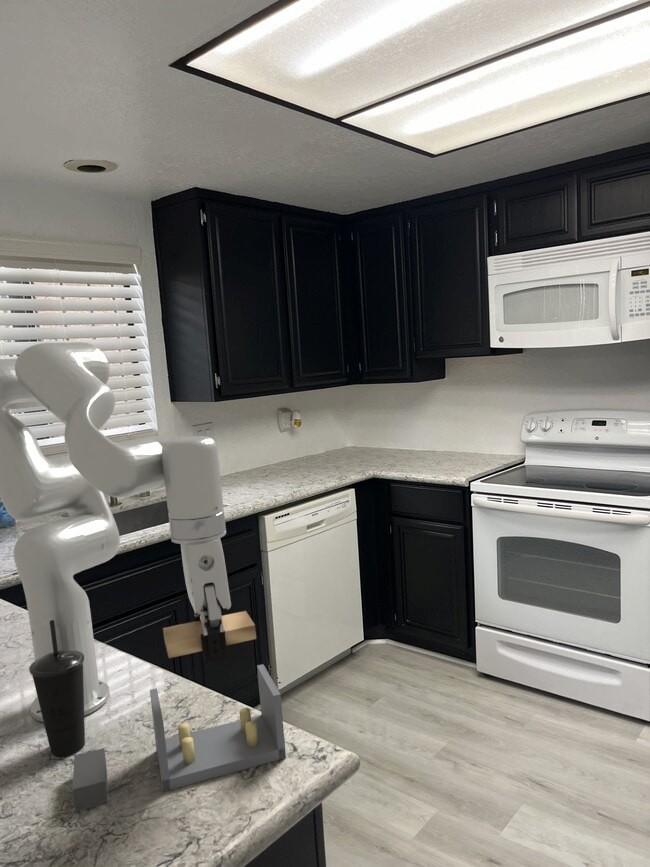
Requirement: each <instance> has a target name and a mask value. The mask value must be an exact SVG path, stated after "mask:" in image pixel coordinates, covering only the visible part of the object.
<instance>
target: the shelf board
mask: <svg viewBox="0 0 650 867" xmlns="http://www.w3.org/2000/svg"><path fill="white" fill-rule="evenodd" d="M205 620H206V622H207V620H208V619H205ZM222 621H223V628H224V630H225V638H226V646H230V645H234V644H239V643H244V642H247V641H253V640H257V630H256V624H255V622H254V621H253V620H252V618H251V617H250V615H249V614H248V612H247V610H244V611H243V610H242V611H238V612H233V613H229V614H224V615H222ZM162 630H163V632H162V633H163V638H164V639H163V640H164V645H165V648H166V653H167V656H168V659H172V658H177V657H181V656H186V655H190V654H194V653H198V652H199V653H200V652H202V643H201V634H203V632H202V626H201V620H200V621H195V622H194V621H190V622H187V623H186V622H185V623H180V624H176V625H171V626H168V627H163V628H162Z"/></svg>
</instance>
